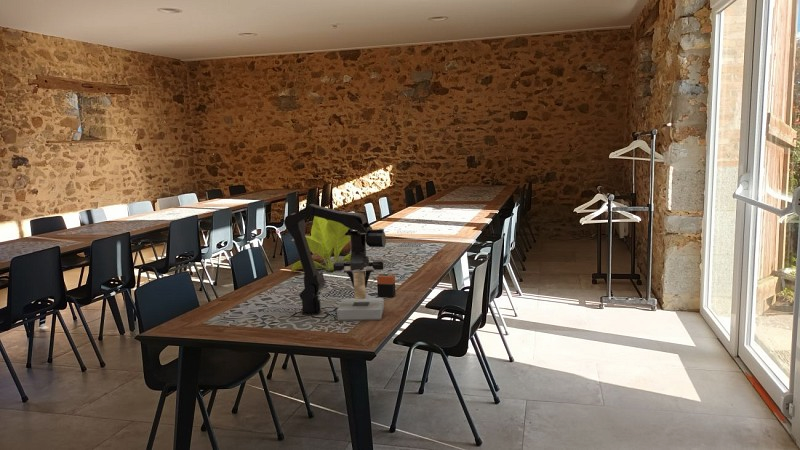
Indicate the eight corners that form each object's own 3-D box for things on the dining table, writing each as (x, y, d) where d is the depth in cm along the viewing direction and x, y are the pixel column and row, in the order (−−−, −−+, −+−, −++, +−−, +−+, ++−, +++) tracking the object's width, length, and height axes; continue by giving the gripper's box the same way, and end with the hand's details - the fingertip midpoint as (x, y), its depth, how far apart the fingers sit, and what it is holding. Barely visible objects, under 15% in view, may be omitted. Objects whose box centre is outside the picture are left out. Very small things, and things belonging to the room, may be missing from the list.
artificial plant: (377, 274, 331) (367, 225, 344) (365, 243, 292) (354, 188, 305) (301, 292, 331) (293, 242, 344) (278, 263, 292) (271, 208, 305)
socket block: (337, 320, 229) (337, 310, 229) (343, 308, 245) (342, 299, 244) (380, 320, 228) (380, 309, 228) (383, 307, 244) (383, 298, 244)
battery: (380, 294, 265) (379, 271, 264) (395, 295, 263) (395, 272, 262) (377, 297, 261) (376, 273, 260) (392, 297, 259) (391, 274, 257)
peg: (354, 299, 234) (353, 273, 232) (355, 296, 238) (354, 270, 236) (365, 299, 234) (364, 273, 232) (366, 296, 238) (365, 270, 236)
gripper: (330, 251, 225) (332, 293, 228) (381, 250, 224) (383, 292, 227) (334, 246, 236) (336, 285, 239) (383, 244, 236) (385, 284, 238)
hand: (360, 287), depth 235 cm, fingers closed on peg, 4 cm apart
